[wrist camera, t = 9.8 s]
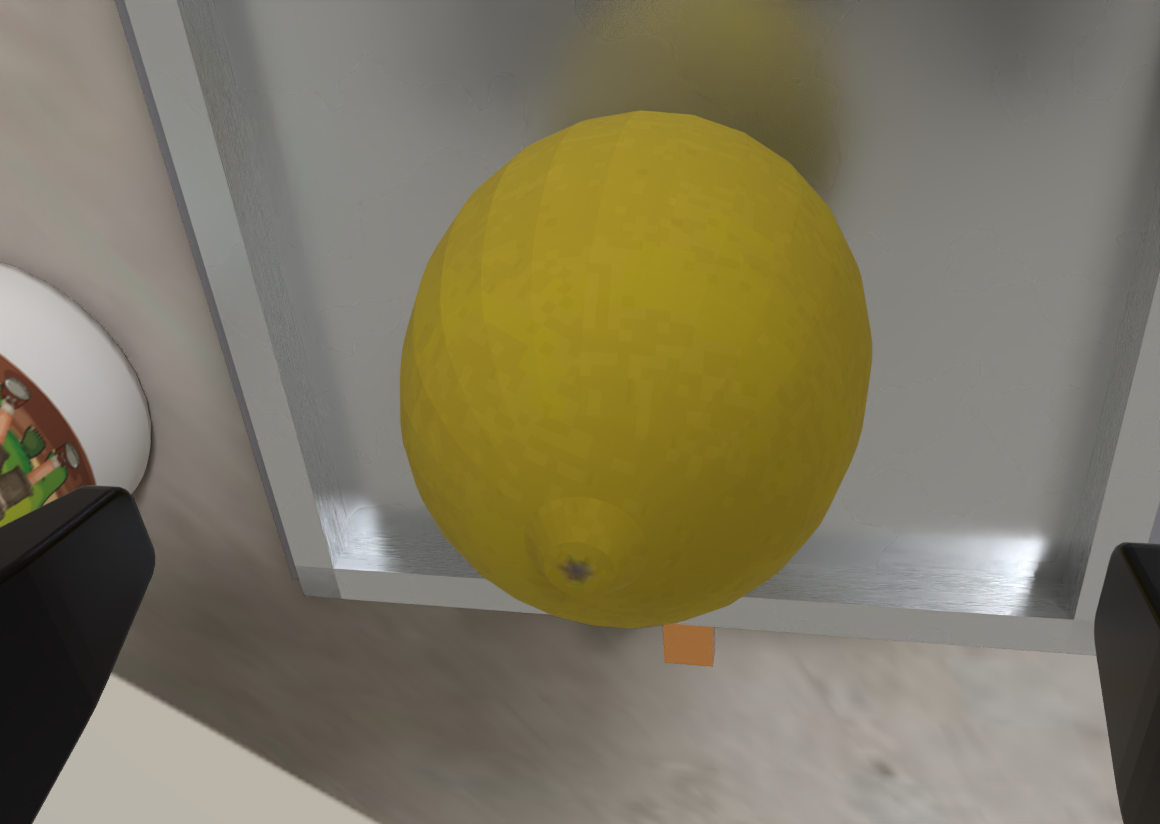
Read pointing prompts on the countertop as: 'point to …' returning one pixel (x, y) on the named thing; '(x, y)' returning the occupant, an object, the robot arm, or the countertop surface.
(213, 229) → the scale pan
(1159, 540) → the base
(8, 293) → the milk bottle
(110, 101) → the countertop surface
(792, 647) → the countertop surface
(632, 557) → the lemon
